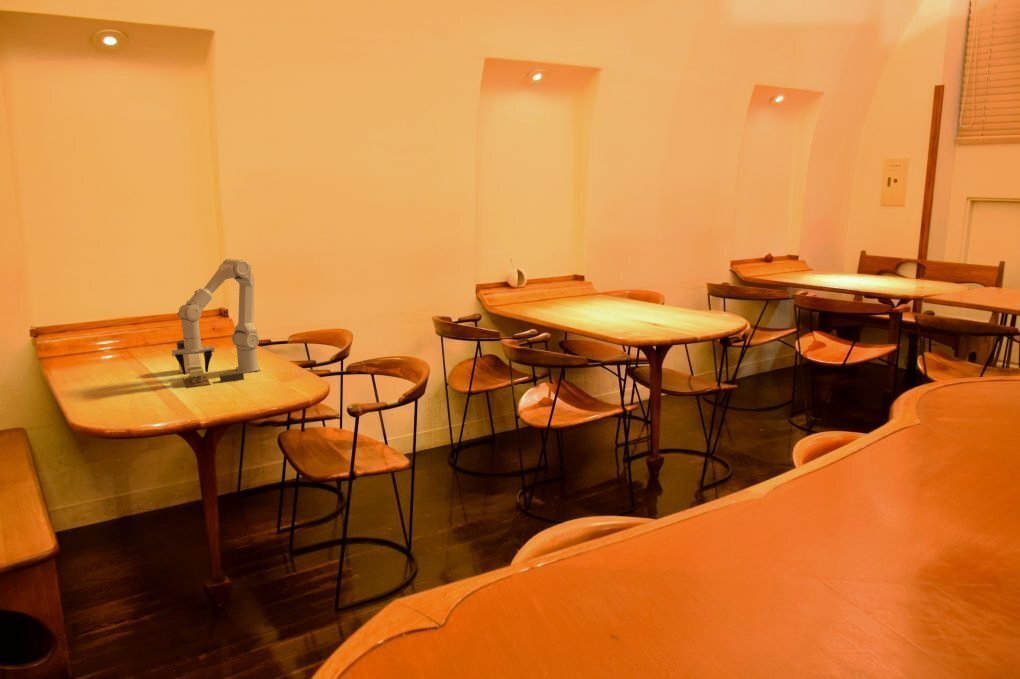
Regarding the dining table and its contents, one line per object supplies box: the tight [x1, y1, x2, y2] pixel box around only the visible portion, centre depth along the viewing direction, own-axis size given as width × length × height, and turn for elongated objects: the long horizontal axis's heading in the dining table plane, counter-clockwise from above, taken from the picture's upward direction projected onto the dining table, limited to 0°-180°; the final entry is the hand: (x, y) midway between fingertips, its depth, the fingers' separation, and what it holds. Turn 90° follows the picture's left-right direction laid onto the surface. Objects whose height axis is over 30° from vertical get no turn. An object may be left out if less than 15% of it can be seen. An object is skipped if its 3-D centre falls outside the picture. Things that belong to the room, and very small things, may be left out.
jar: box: [176, 339, 202, 374], centre depth 291 cm, size 9×8×12 cm
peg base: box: [182, 375, 211, 389], centre depth 274 cm, size 14×8×3 cm, turn 29°
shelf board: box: [187, 364, 205, 378], centre depth 274 cm, size 10×4×2 cm, turn 29°
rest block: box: [219, 371, 245, 383], centre depth 276 cm, size 3×8×2 cm, turn 119°
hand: (195, 372), depth 274 cm, fingers open, 7 cm apart
